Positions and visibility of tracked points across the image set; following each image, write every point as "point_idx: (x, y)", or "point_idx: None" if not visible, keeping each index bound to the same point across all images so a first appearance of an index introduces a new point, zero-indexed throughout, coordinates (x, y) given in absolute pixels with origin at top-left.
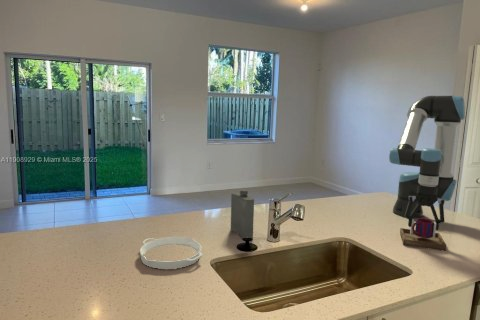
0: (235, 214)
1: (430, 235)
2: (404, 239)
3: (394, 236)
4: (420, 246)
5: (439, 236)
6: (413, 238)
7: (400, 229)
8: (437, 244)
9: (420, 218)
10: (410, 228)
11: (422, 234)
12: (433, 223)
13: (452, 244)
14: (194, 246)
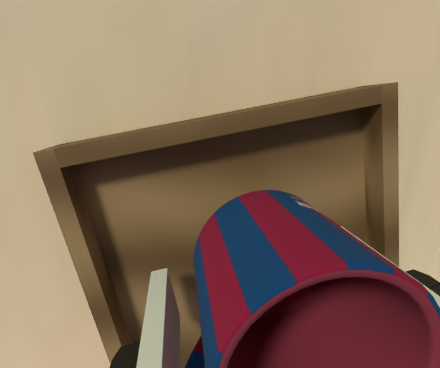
0: None
1: (322, 300)
2: None
3: (39, 257)
4: None
5: (385, 184)
6: (187, 270)
7: (44, 168)
8: None
9: (270, 305)
10: (148, 307)
11: (261, 334)
12: (427, 351)
13: (434, 169)
14: None
